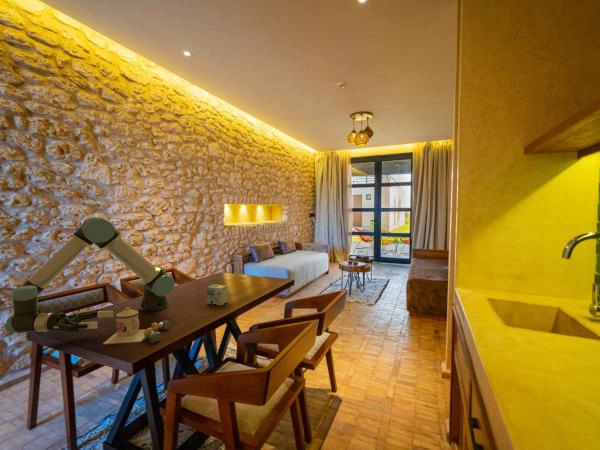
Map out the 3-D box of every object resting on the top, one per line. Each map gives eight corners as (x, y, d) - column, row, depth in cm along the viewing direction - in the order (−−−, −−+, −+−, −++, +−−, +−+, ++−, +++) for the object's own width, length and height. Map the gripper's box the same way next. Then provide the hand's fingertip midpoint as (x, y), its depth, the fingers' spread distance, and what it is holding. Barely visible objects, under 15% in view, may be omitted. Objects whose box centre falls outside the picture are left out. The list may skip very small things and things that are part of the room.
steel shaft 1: (161, 340, 123) (161, 329, 123) (151, 343, 120) (151, 333, 119) (153, 336, 127) (153, 326, 127) (143, 339, 123) (143, 329, 123)
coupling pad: (118, 331, 132) (118, 330, 132) (152, 329, 134) (151, 328, 134) (103, 344, 119) (103, 343, 119) (141, 341, 121) (140, 340, 121)
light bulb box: (206, 303, 174) (206, 286, 173) (213, 300, 180) (213, 284, 180) (221, 305, 170) (221, 288, 170) (227, 302, 177) (227, 285, 176)
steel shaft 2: (165, 326, 138) (164, 317, 138) (169, 329, 135) (169, 319, 135) (151, 331, 132) (151, 321, 132) (155, 333, 130) (155, 324, 130)
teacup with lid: (111, 334, 127) (111, 309, 127) (130, 327, 136) (130, 303, 136) (129, 339, 123) (128, 312, 123) (147, 331, 131) (147, 306, 131)
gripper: (70, 319, 134) (118, 317, 137) (29, 343, 109) (89, 339, 113) (70, 304, 134) (118, 302, 137) (28, 324, 109) (88, 321, 112)
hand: (105, 319), depth 125 cm, fingers open, 13 cm apart
